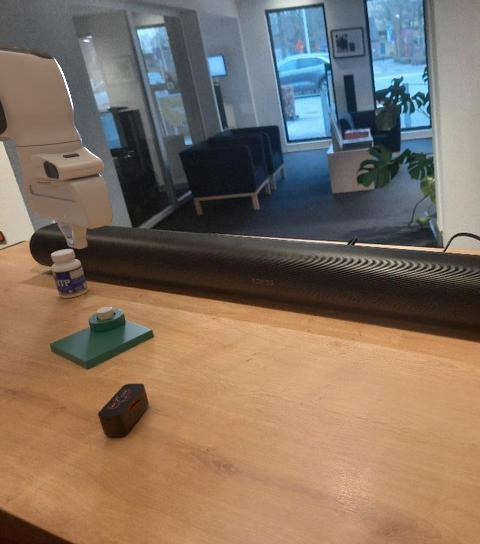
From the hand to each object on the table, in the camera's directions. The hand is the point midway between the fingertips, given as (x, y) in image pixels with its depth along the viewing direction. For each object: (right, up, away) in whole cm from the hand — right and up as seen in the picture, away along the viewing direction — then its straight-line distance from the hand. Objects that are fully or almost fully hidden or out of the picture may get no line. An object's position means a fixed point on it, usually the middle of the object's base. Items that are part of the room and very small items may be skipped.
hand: (78, 247), depth 81 cm
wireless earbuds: (+17, -22, -20) cm, 34 cm away
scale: (+5, -16, -1) cm, 17 cm away
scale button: (+4, -12, +2) cm, 12 cm away
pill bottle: (-12, -9, +20) cm, 25 cm away
